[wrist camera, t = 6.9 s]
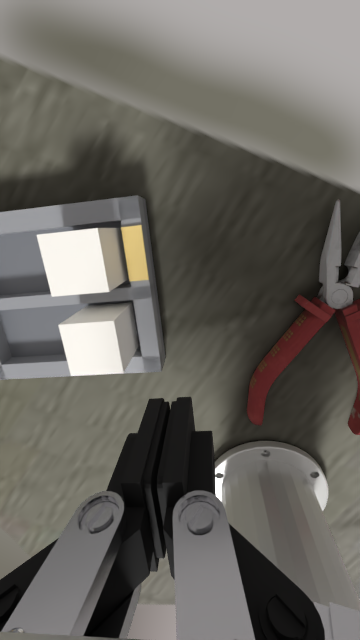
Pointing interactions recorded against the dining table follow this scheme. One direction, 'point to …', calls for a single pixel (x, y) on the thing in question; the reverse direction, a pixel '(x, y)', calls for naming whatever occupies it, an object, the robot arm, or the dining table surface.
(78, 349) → the tab
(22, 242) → the switch bank
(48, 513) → the dining table surface
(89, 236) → the tab
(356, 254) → the pliers
